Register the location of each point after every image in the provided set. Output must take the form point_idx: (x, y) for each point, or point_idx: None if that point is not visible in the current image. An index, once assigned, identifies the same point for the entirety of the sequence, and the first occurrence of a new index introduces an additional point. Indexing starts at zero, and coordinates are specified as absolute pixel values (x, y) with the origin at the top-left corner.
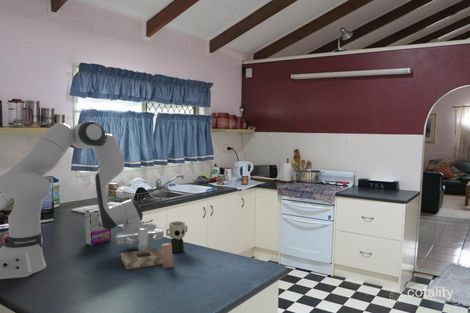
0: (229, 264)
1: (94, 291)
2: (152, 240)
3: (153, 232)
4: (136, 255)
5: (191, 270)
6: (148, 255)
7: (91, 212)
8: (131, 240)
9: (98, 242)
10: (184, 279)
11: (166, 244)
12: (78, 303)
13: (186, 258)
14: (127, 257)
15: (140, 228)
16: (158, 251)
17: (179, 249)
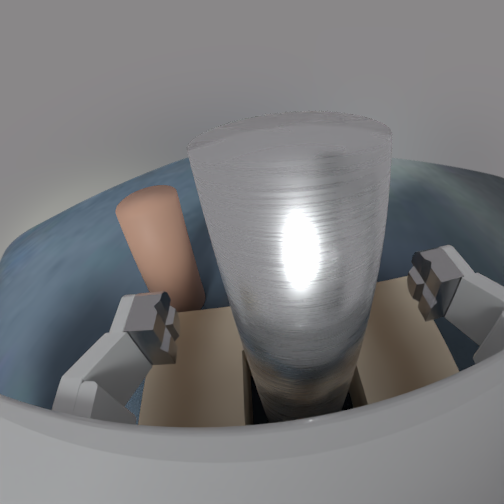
0: (35, 271)
1: (432, 192)
2: (172, 337)
3: (54, 424)
4: (361, 378)
5: (130, 255)
6: None
7: None
8: (438, 248)
9: None
10: (185, 213)
11: (144, 202)
12: (434, 169)
13: (65, 364)
14: (423, 343)
15: (345, 140)
16: (159, 421)
17: None
